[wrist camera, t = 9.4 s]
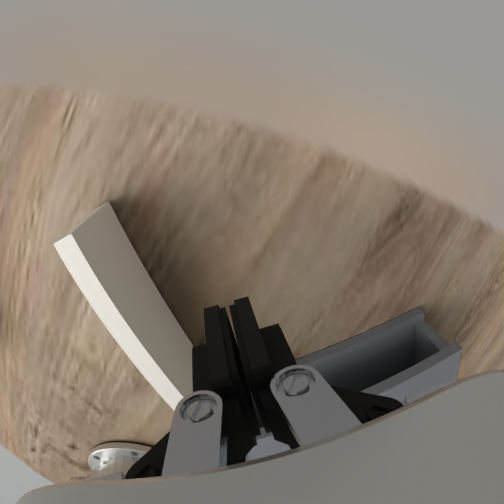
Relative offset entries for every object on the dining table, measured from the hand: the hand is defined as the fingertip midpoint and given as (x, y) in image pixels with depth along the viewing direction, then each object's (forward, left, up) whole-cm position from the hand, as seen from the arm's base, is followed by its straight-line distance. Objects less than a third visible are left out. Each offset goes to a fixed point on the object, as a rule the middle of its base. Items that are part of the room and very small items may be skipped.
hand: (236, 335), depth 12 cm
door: (-6, -4, -11) cm, 13 cm away
